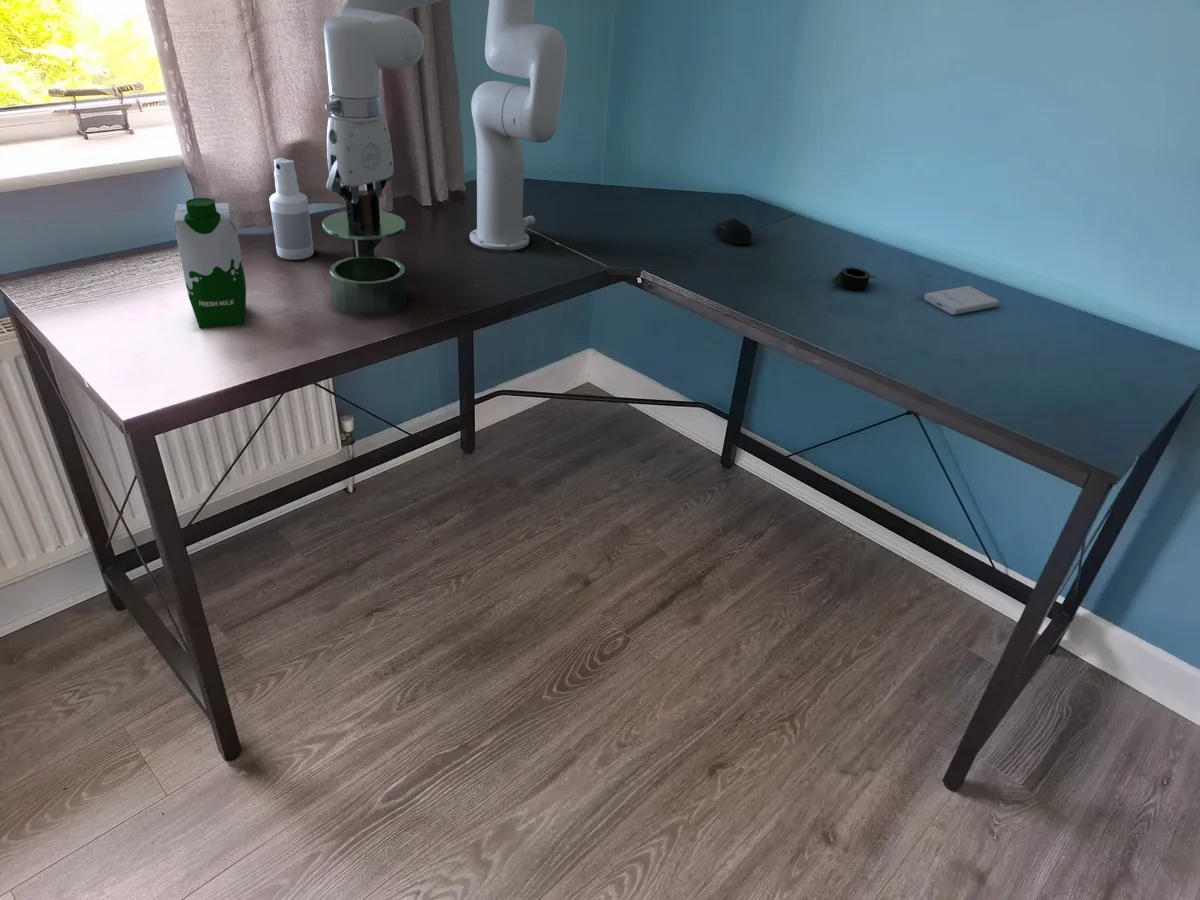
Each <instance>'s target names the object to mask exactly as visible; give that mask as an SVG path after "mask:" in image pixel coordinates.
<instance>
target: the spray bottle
mask: <svg viewBox="0 0 1200 900" xmlns="http://www.w3.org/2000/svg"><path fill="white" fill-rule="evenodd" d="M294 161H295V160H294V159H290V160H289V159H287V158H285V157H277V158H274V159H273V165H274V172H273V174H274V175H273V176H274V186H275V192H274V193H272V194H271V195H270V197H269V199H268V200H269V205H270V213H271V214H270V215H271V220H272V221H271V222H272V227H273V228H272V229H273V235H274V241H275V248H276V254H277V256H278V257H279V258H281V259H284V260H291V261H292V260H293V261H296V260H297V261H298V260H304V259H308V258H311V257H312V256H313V255H314V251H315V250H314V241H313V233H312V225H311V224H312V223H311V216H310V207H309V200H308V199H309V198H308V196H307V195H306V194H304V193H303V192H301V191H300V188H299V182H298V175H297V171H296V168H295V162H294Z"/></svg>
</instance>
